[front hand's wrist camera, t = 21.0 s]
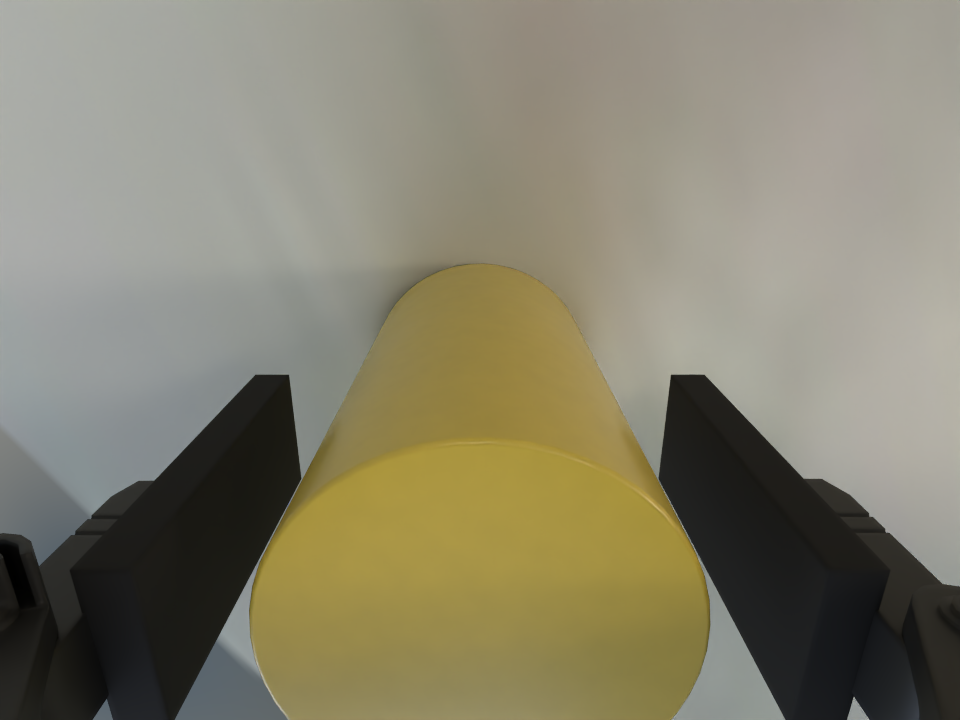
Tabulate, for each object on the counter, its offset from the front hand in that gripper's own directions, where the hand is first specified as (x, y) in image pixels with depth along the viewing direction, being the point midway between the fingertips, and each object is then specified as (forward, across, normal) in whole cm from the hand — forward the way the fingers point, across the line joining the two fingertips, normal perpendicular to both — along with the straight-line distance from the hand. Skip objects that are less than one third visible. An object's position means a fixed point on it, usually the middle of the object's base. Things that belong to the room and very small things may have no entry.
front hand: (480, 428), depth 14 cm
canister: (+4, 0, 0) cm, 4 cm away
